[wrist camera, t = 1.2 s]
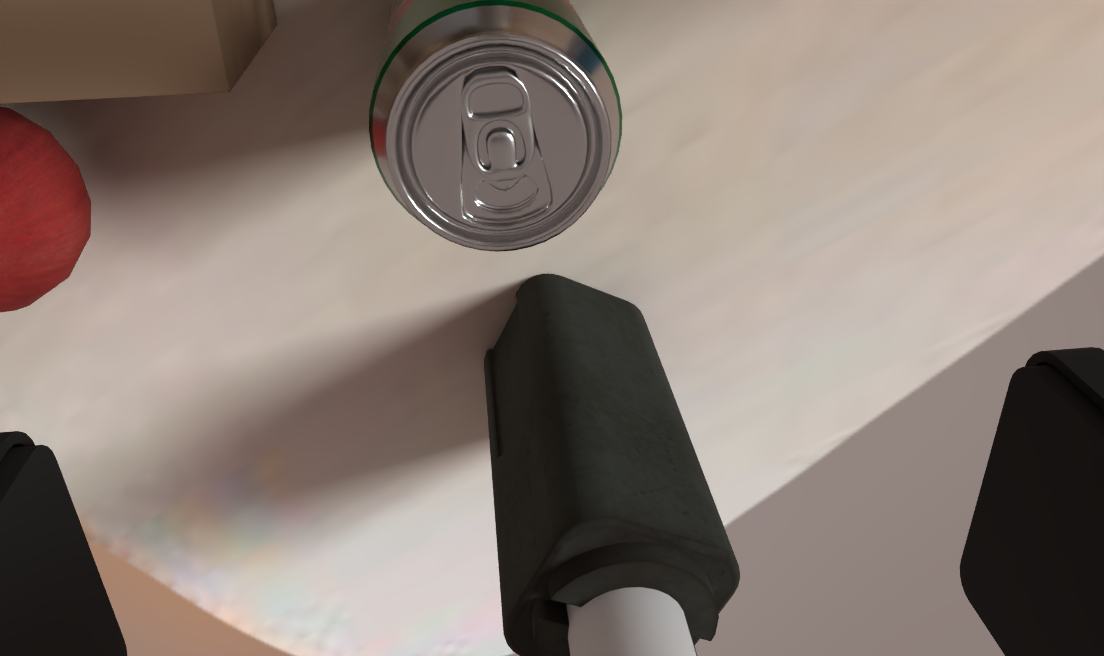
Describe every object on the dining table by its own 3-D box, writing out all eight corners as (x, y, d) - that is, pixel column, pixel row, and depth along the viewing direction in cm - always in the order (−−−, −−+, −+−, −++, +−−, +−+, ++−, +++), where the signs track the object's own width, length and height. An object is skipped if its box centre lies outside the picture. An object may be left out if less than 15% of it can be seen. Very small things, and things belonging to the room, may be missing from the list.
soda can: (410, 108, 29) (393, 285, 18) (378, -64, 26) (337, 31, 16) (568, 87, 29) (638, 251, 19) (553, -86, 26) (624, -6, 16)
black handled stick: (530, 263, 32) (711, 1226, 11) (656, 311, 33) (1035, 1237, 12) (473, 376, 34) (527, 1365, 13) (594, 416, 36) (822, 1359, 14)
